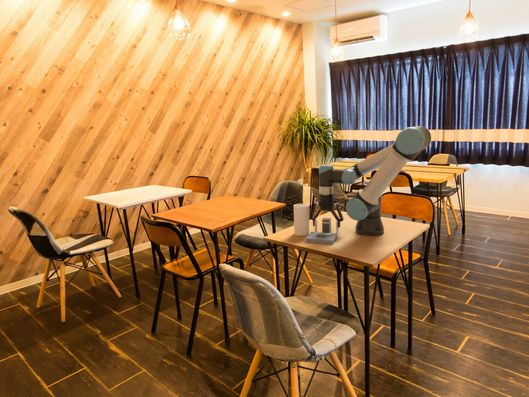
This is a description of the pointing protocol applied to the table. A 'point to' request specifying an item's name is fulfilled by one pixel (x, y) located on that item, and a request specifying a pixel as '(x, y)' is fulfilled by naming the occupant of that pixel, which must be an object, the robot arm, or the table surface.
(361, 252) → the table surface
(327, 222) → the charger
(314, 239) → the outlet plate
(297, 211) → the cup
